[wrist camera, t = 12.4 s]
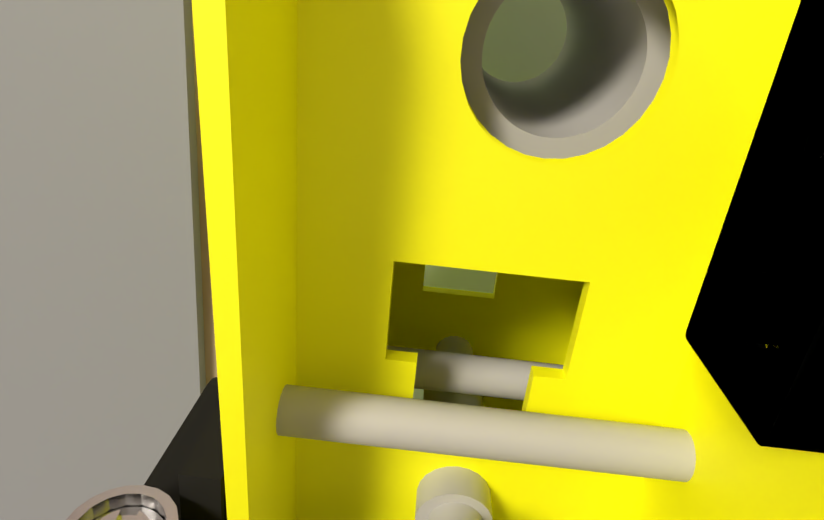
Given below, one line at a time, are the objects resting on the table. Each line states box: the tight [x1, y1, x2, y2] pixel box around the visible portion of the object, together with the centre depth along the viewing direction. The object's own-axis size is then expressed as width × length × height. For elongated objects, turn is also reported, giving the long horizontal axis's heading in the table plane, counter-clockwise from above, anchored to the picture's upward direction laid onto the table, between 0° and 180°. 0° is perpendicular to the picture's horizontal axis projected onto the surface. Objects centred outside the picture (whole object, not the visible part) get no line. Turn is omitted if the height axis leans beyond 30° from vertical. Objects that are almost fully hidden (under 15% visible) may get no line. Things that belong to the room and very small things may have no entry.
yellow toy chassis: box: [192, 0, 824, 520], centre depth 8 cm, size 16×6×8 cm, turn 174°
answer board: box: [0, 0, 567, 520], centre depth 15 cm, size 24×22×2 cm
